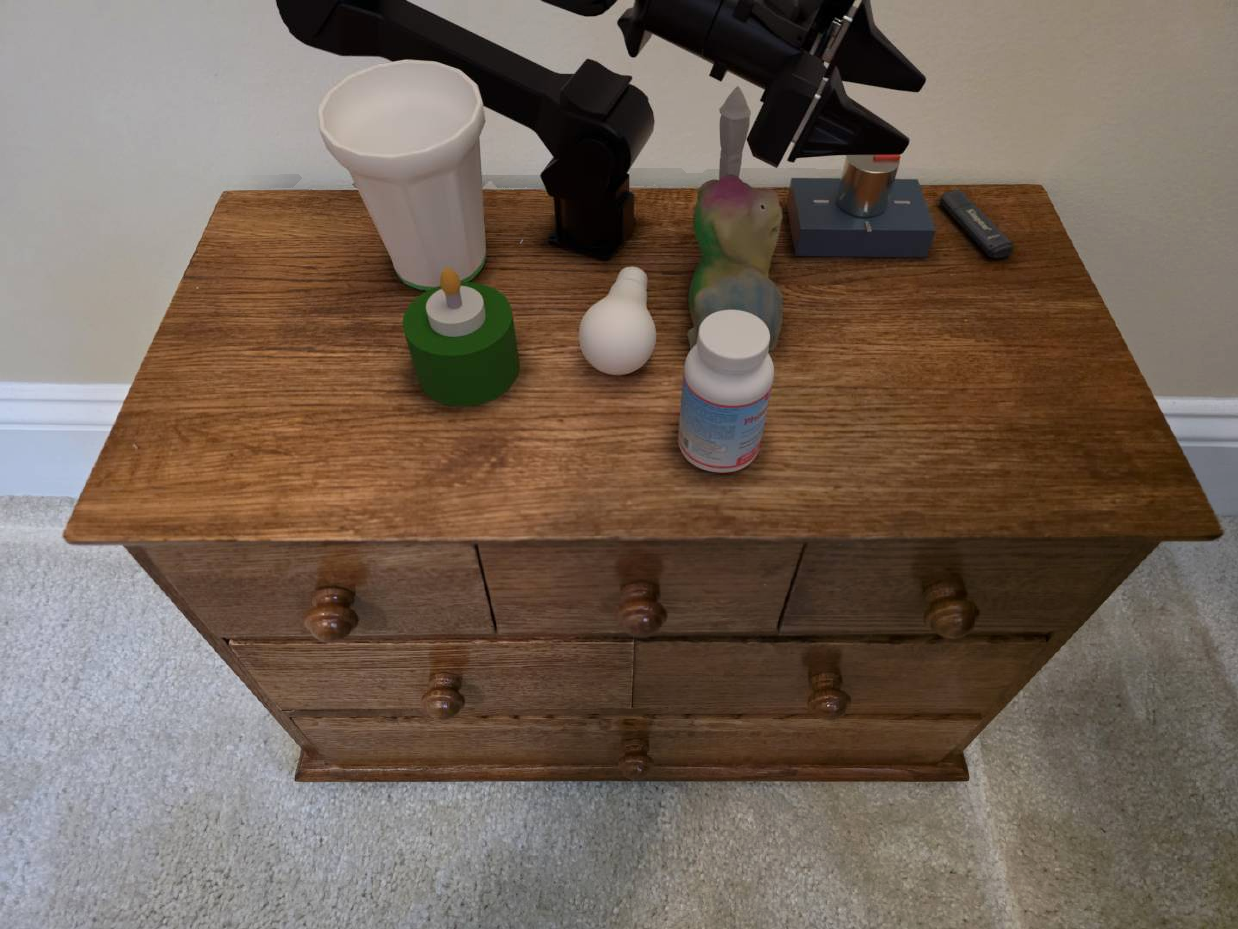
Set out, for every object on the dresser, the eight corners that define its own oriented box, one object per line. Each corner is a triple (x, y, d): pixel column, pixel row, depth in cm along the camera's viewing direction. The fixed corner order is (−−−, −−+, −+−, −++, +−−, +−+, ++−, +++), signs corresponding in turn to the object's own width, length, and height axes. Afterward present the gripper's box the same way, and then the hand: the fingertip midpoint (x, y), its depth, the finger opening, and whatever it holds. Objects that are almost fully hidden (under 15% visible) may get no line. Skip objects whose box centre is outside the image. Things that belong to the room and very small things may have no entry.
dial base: (795, 258, 74) (801, 229, 72) (785, 202, 80) (791, 173, 77) (927, 260, 74) (937, 231, 71) (908, 203, 79) (917, 174, 77)
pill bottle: (754, 482, 58) (778, 373, 50) (671, 469, 59) (680, 358, 50) (762, 420, 62) (786, 308, 53) (684, 408, 63) (694, 295, 54)
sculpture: (795, 365, 66) (818, 265, 58) (691, 369, 65) (700, 270, 58) (765, 252, 75) (782, 153, 67) (674, 255, 74) (680, 156, 67)
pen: (718, 242, 76) (734, 97, 65) (702, 227, 77) (716, 82, 66) (740, 234, 76) (760, 89, 65) (724, 219, 78) (741, 75, 67)
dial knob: (839, 217, 73) (851, 169, 69) (832, 187, 76) (843, 140, 72) (891, 217, 73) (905, 169, 69) (882, 188, 76) (895, 140, 72)
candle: (476, 421, 62) (455, 323, 54) (395, 380, 65) (364, 281, 57) (539, 357, 66) (528, 257, 58) (461, 320, 69) (440, 221, 61)
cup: (529, 280, 72) (506, 126, 59) (395, 327, 69) (341, 177, 56) (480, 198, 78) (450, 43, 65) (355, 238, 75) (298, 84, 62)
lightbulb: (680, 258, 66) (660, 350, 60) (656, 310, 71) (635, 400, 64) (610, 231, 66) (582, 321, 59) (591, 286, 70) (562, 375, 64)
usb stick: (934, 203, 79) (939, 189, 78) (958, 199, 80) (963, 185, 79) (987, 262, 74) (993, 248, 72) (1012, 257, 74) (1019, 243, 73)
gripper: (728, -53, 46) (974, 70, 46) (798, -149, 57) (997, -49, 57) (665, 118, 55) (871, 220, 55) (737, 7, 66) (908, 92, 66)
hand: (915, 114), depth 58 cm, fingers open, 9 cm apart
